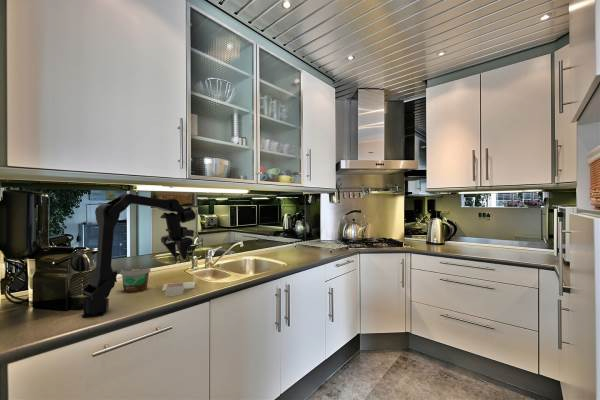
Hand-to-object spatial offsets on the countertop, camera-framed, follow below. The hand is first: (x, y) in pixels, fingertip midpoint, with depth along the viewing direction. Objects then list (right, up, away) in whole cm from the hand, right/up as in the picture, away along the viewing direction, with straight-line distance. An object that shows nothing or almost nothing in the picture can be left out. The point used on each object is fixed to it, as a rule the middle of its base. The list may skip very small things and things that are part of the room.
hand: (179, 258), depth 128 cm
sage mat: (-2, -15, +4) cm, 15 cm away
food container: (-19, -15, -4) cm, 25 cm away
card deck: (+1, -15, -6) cm, 16 cm away
